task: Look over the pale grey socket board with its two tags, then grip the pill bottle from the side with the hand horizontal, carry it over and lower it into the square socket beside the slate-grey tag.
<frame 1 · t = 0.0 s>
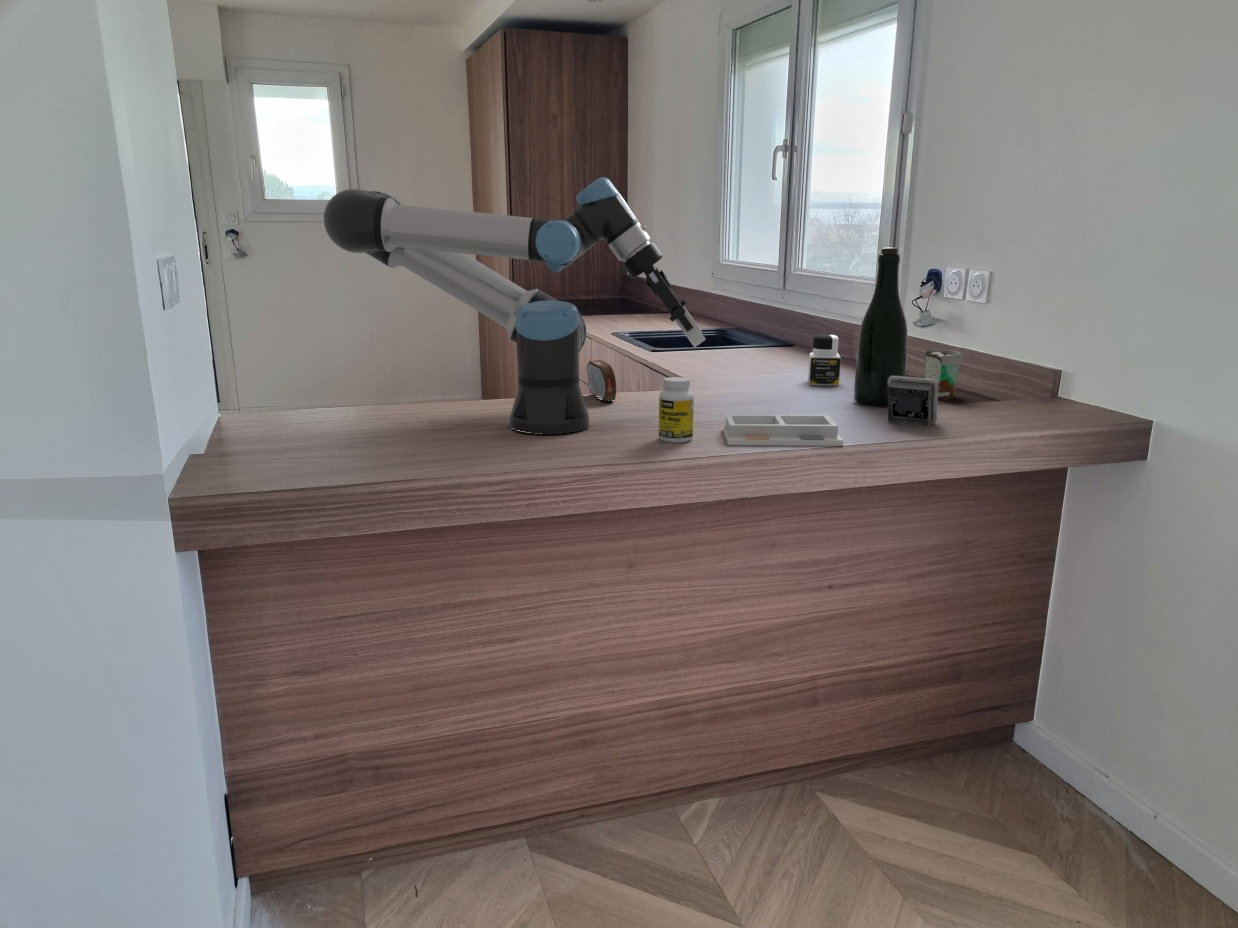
hand: (698, 339, 172), 15 cm above the table, tool tilted 35°, fingers open, 13 cm apart
dark green wine bottle: (877, 404, 187), on the table
pill bottle: (675, 440, 154), on the table
electrical switch: (910, 424, 166), on the table
tin: (601, 399, 193), on the table
medicine bottle: (823, 384, 212), on the table
food container: (943, 396, 195), on the table
socket board: (780, 437, 155), on the table
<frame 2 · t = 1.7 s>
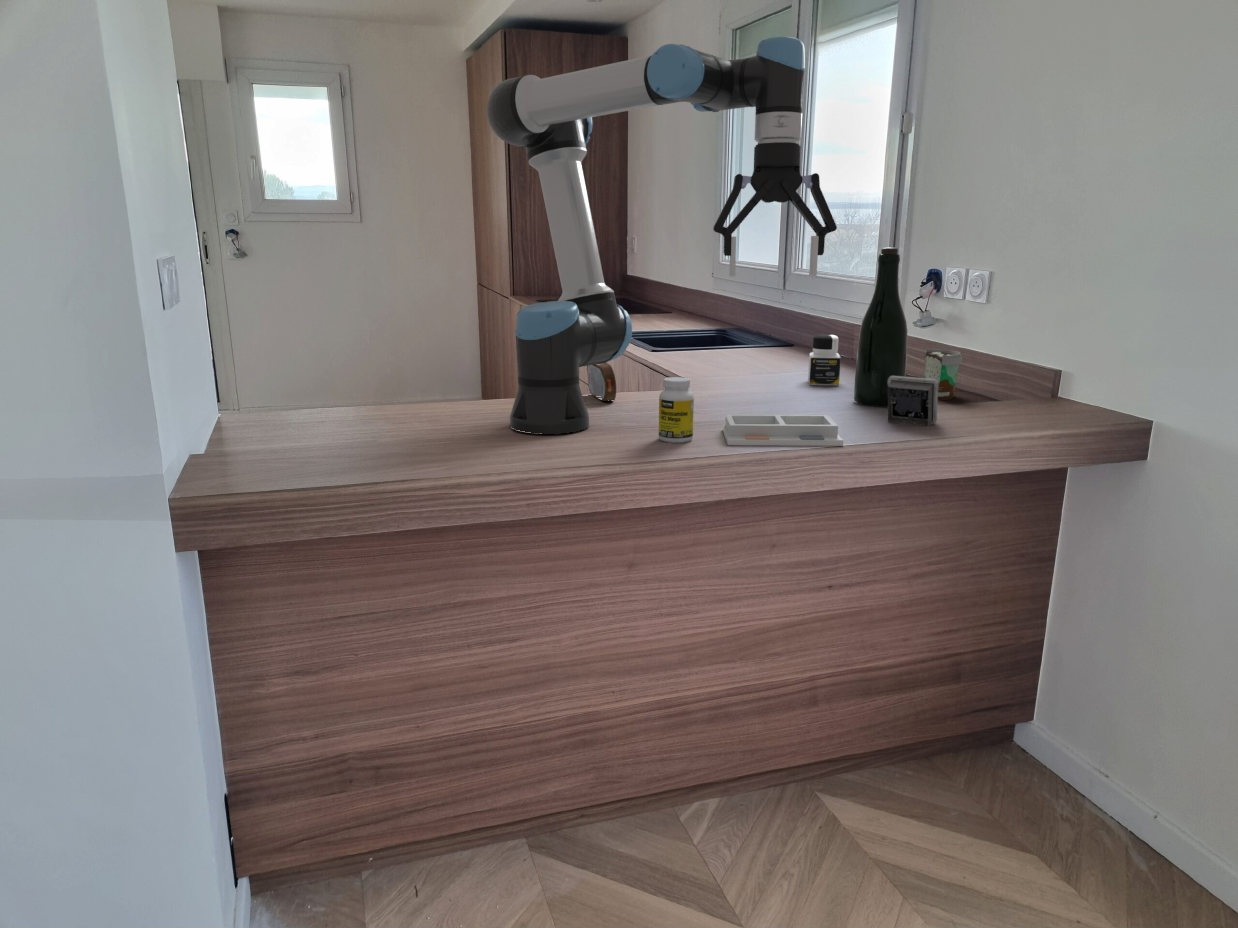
hand: (772, 276, 145), 29 cm above the table, tool pointing down, fingers open, 13 cm apart
nothing on the table moved.
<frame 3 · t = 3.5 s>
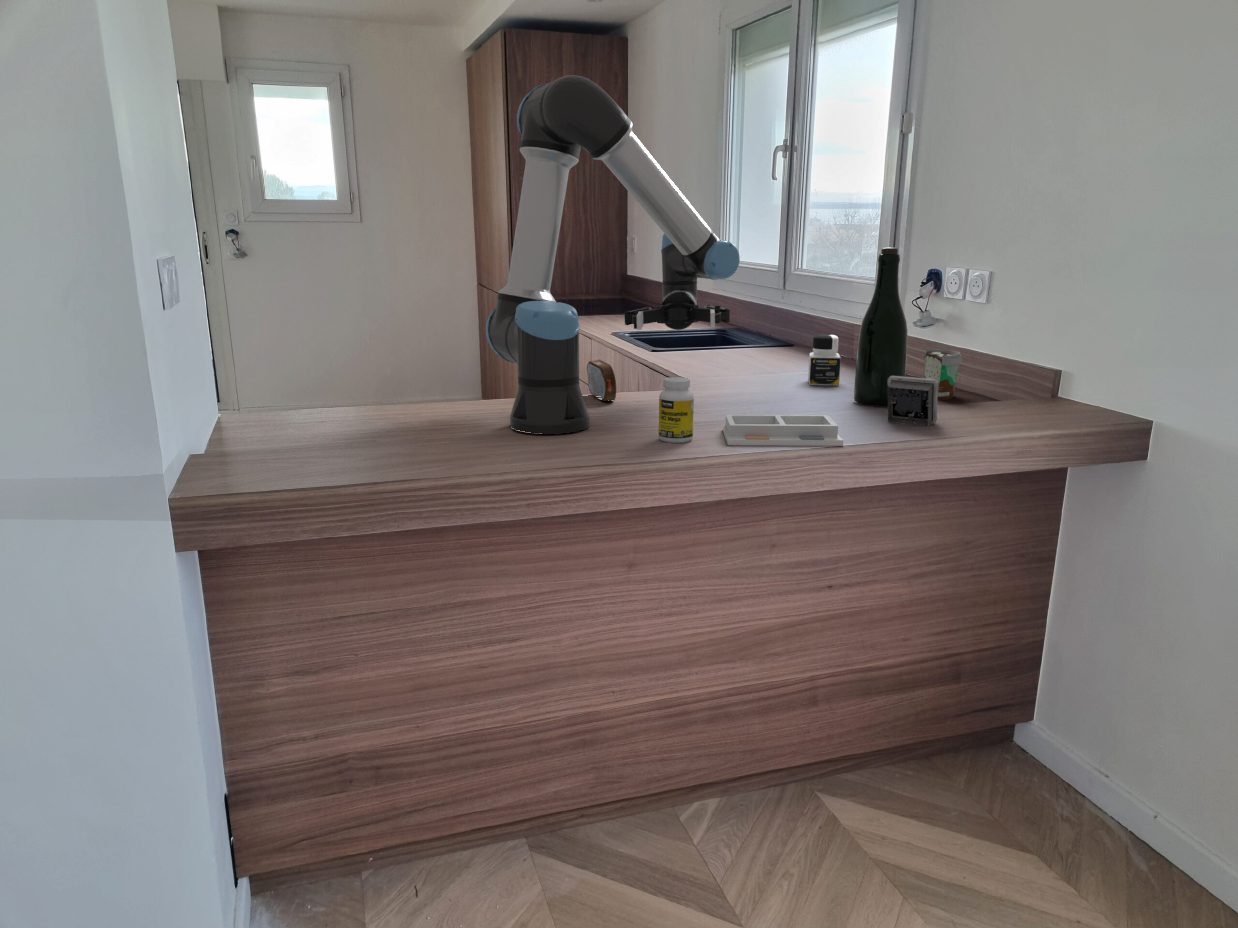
hand: (675, 321, 157), 20 cm above the table, tool horizontal, fingers open, 13 cm apart
nothing on the table moved.
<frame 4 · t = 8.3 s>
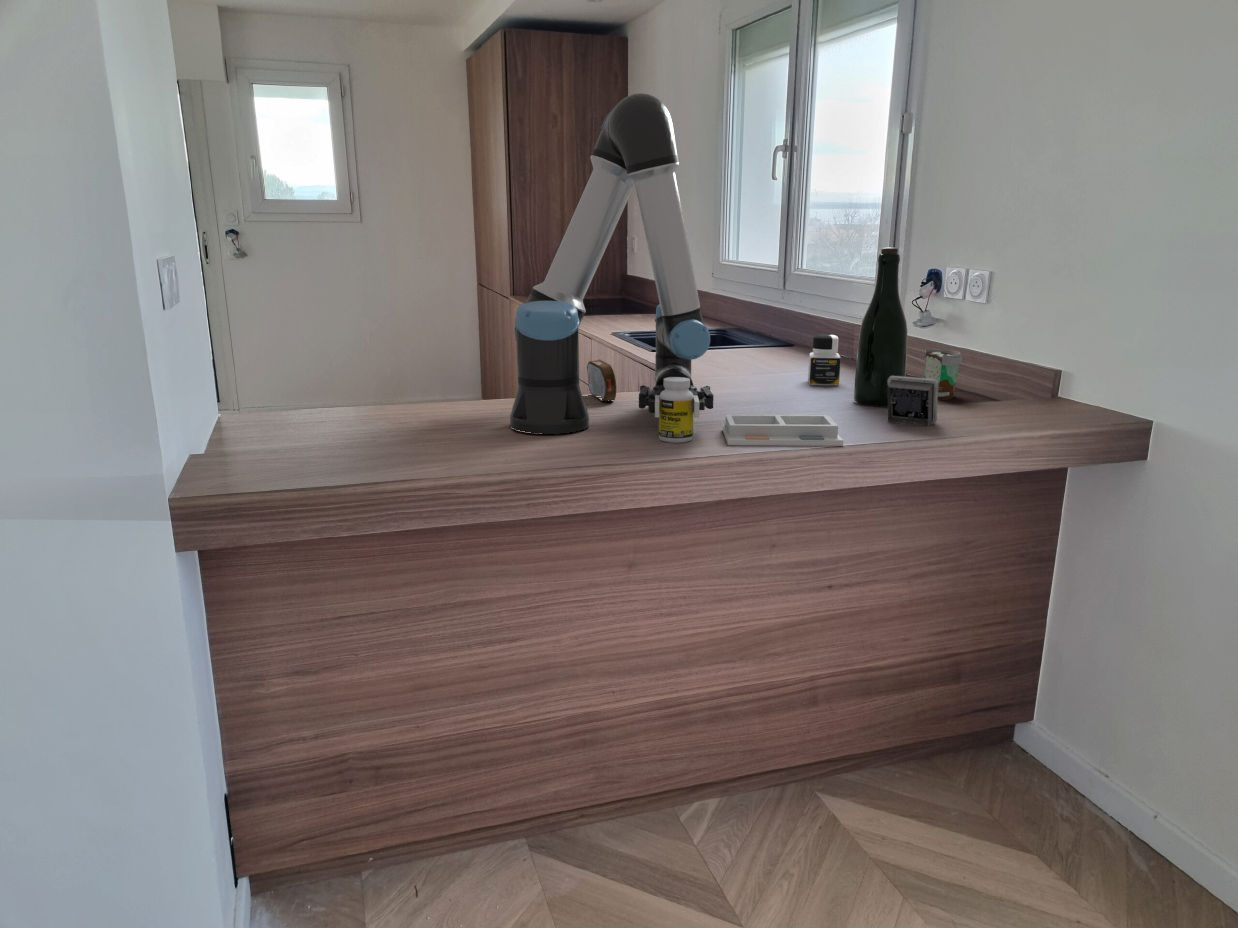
hand: (677, 409, 147), 7 cm above the table, tool horizontal, fingers closed on pill bottle, 6 cm apart
pill bottle: (675, 440, 154), on the table, touching gripper
everything else where it was.
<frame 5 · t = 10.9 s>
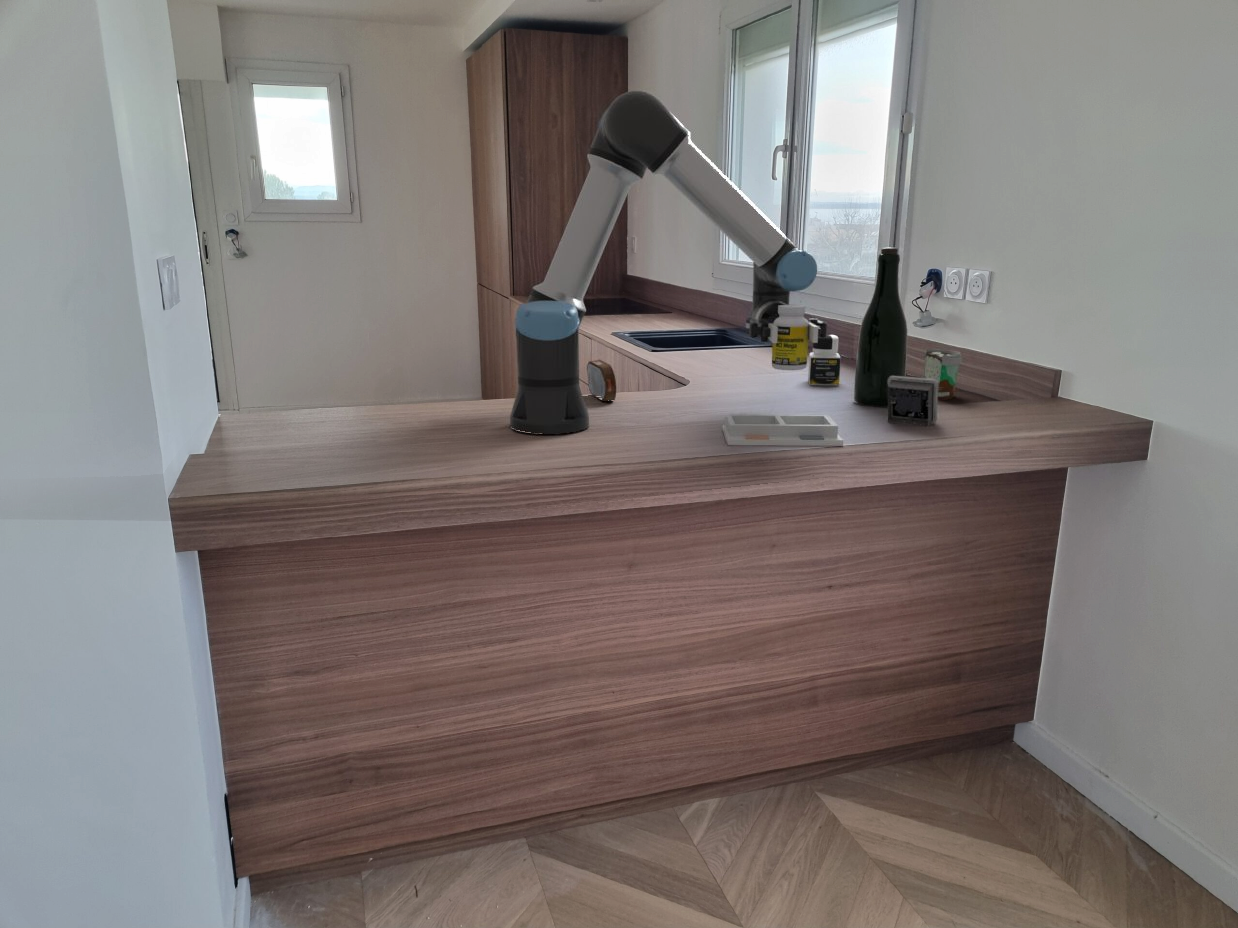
hand: (795, 335, 146), 19 cm above the table, tool horizontal, fingers closed on pill bottle, 6 cm apart
pill bottle: (789, 369, 152), point 12 cm above the table, touching gripper
everything else where it was.
when the fingers open (8 cm above the table, at t = 13.4 s): pill bottle stays where it is, resting on socket board.
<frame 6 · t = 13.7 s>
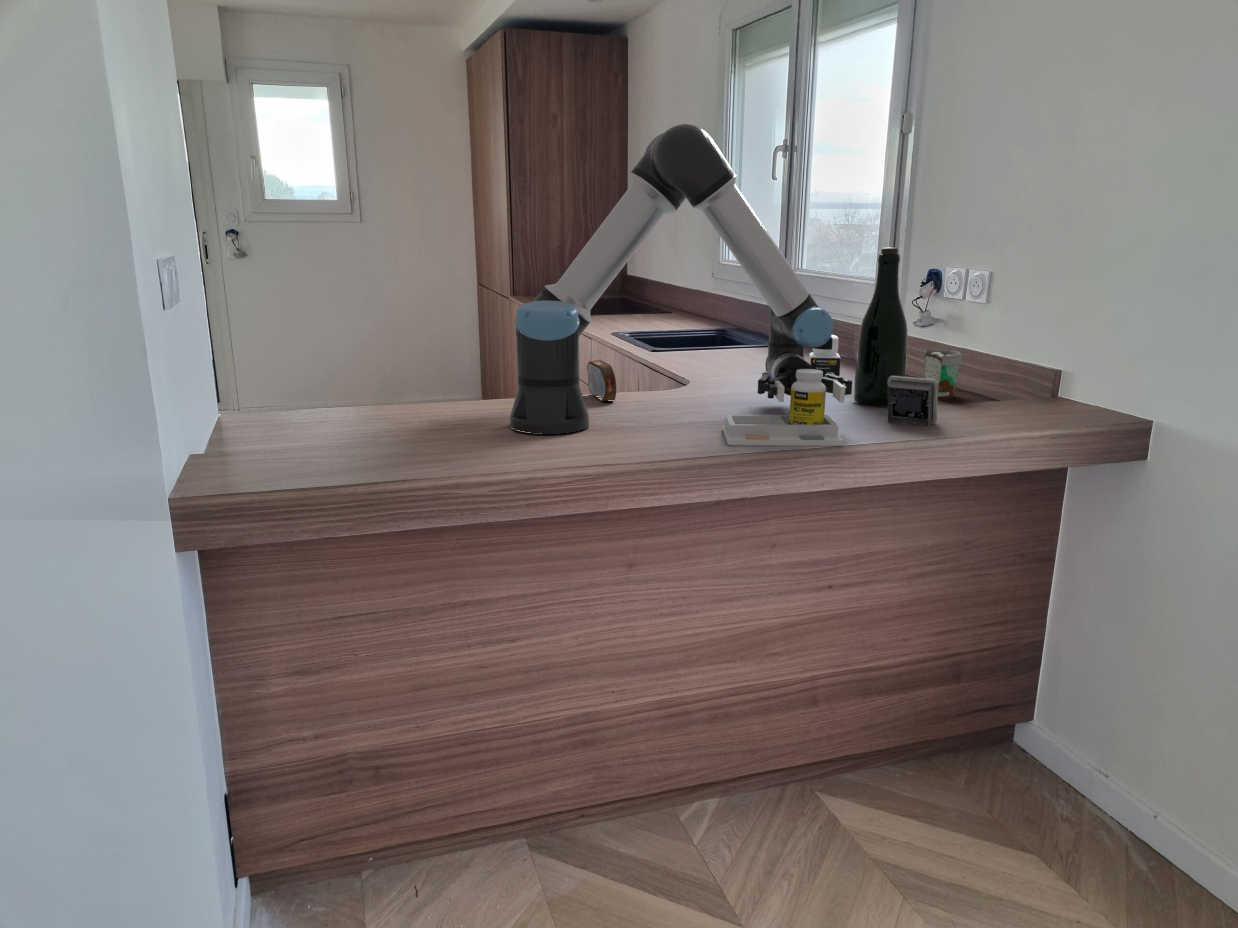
hand: (812, 394, 149), 8 cm above the table, tool horizontal, fingers open, 10 cm apart
pill bottle: (806, 431, 156), point 1 cm above the table, touching socket board
everything else where it was.
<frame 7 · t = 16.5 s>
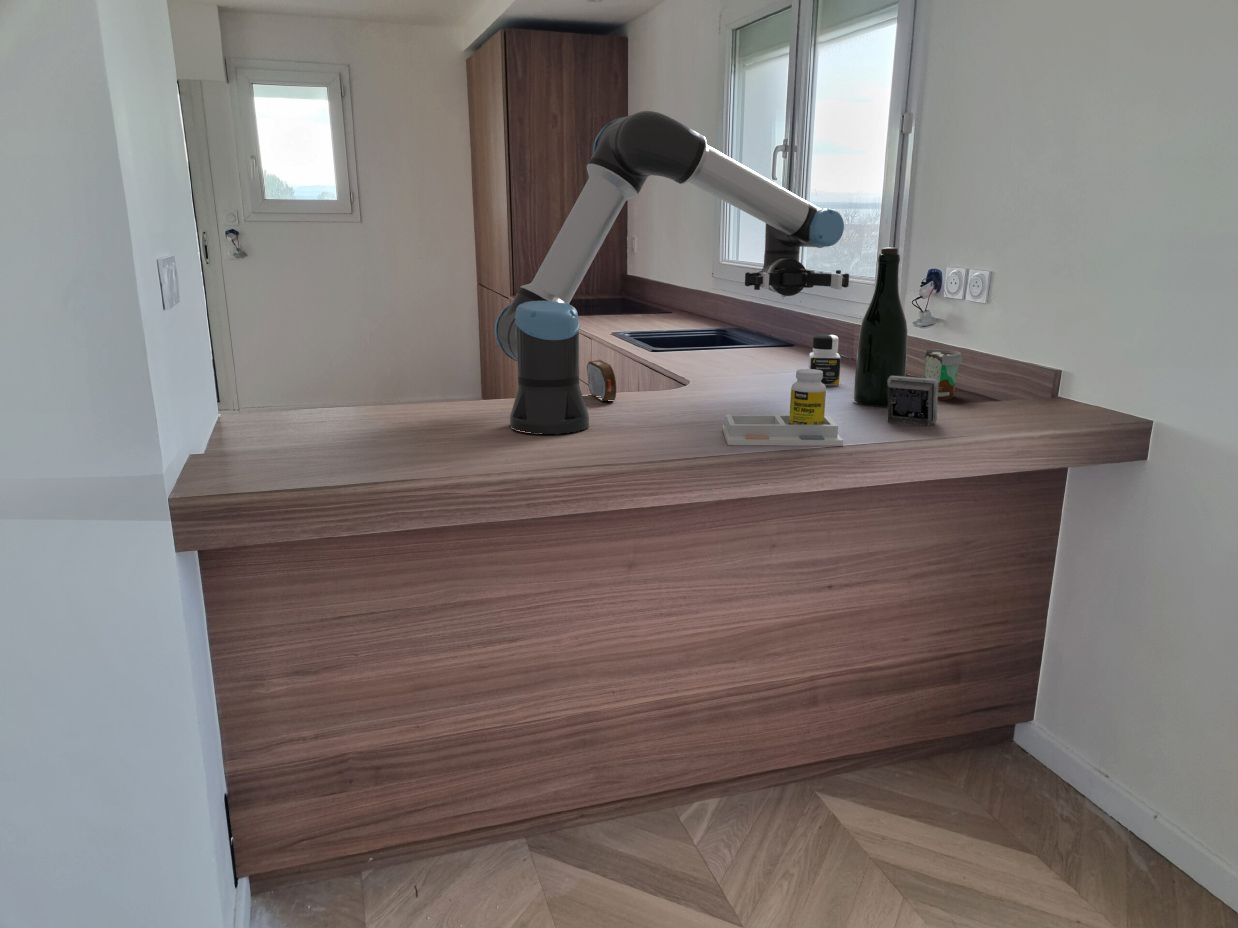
hand: (803, 281, 160), 27 cm above the table, tool horizontal, fingers open, 13 cm apart
nothing on the table moved.
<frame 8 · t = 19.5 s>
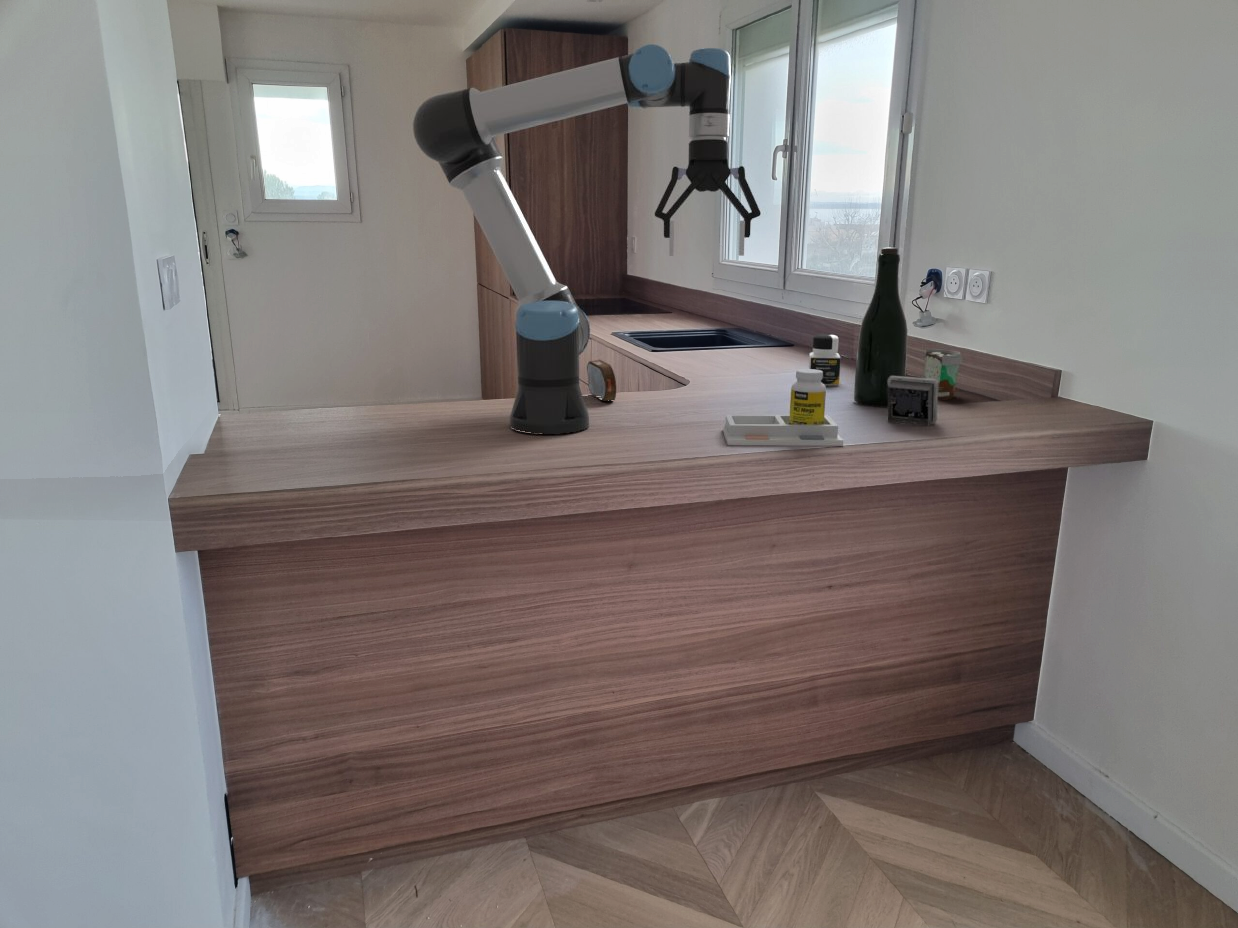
hand: (706, 256, 166), 32 cm above the table, tool pointing down, fingers open, 13 cm apart
nothing on the table moved.
at the end: pill bottle inside the target area (0.1 cm from its centre), point 0.8 cm above the table; pill bottle tilted 0°; the gripper is holding nothing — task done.
